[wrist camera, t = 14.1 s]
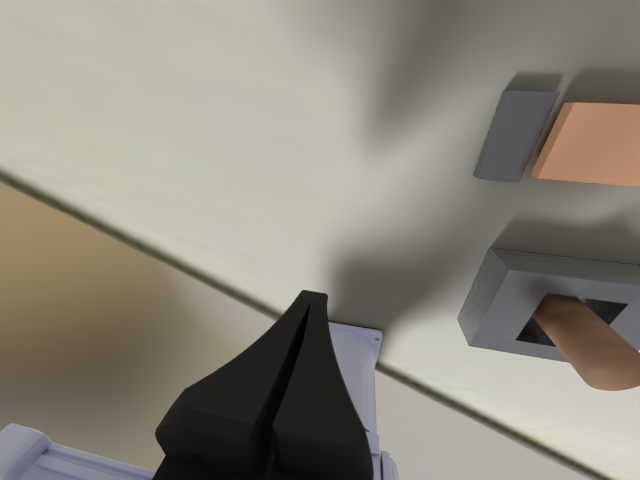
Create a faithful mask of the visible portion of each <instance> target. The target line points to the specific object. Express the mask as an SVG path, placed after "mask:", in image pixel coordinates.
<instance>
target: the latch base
mask: <svg viewBox="0 0 640 480" xmlns="http://www.w3.org/2000/svg"><path fill="white" fill-rule="evenodd" d="M558 94H559V92H544V91H515V90H511V91H504V92H503V93H502V96H501V99H500V101H499V104H498V107H497V110H496V113H495V115H494V118H493V121H492V124H491V127H490V130H489V132H488V135H487V138H486V141H485V144H484V146H483V149H482V152H481V155H480V158H479V160H478V163H477V166H476V169H475V172H474V174H473V176H475V177H476V178H478V179H484V180H496V181H509V182H519V180H520V178H521V175H522V173H523V171H524V169H525V167H526V164H527V162H528V160H529V158H530V156H531V153H532V151H533V149H534V147H535V145H536V142H537V140H538V138H539V136H540V134H541V131H542V129H543V127H544V125H545V123H546V120H547V118H548V116H549V114H550V112H551V109H552V107H553V105H554V103H555V101H556V98H557V96H558Z"/></svg>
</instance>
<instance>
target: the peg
mask: <svg viewBox="0 0 640 480" xmlns="http://www.w3.org/2000/svg"><path fill="white" fill-rule="evenodd" d="M532 317H533V318H534V319H535V321H536V322H537V323H538V324H539V325H540V327H541V328H542V329H543V330H544V332H545V333H546V334H547V335H548V337H549V338H550V339H551V340H552V342H553V343H554V344H555V345H556V346H557V348H558V349H559V350H560V351H561V353H562V354H563V355H564V356H565V358H566V359H567V360H568V361H569V363H570V364H571V365H572V366H573V367H574V369H575V370H576V371H577V372H578V374H579V375H580V376H581V377H582V379H583V380H584V381H585V382H586V383H587V384H588V385H589V386H591V387H593V388H596V389H600V390H608V391H617V390H625V389H630V388H634V387H637V386H640V353H639V352H638V351H637V350H636V349H635V348H634V347H633V346H631V345H630V344H629V343H628V342H627V341H626V340H625V339H624V338H622V337H621V336H620V335H619V334H618V333H617V332H616V331H614V330H613V329H612V328H611V327H610V326H609V325H608V324H607V323H605V322H604V321H603V320H602V319H601V318H600V317H599V316H597V315H596V314H595V313H594V312H593V311H592V310H591V309H590V308H588V307H587V306H586V305H585V304H584V303H583V302H582V301H580V300H579V299H578V298H577V297H573V296H566V295H558V294H551V293H546V295H545V296H544V298H543V299H542V301H541V302H540V304H539V305H538V307H537V308H536V310H535V311H534V313H533V314H532Z"/></svg>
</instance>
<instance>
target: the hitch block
mask: <svg viewBox="0 0 640 480" xmlns="http://www.w3.org/2000/svg"><path fill="white" fill-rule="evenodd" d="M546 293H551V294H558V295H566V296H573V297H577V298H578V299H579V300H580V301H582V302H583V303H584V304H585V305H586V306H587V307H588V308H590V309H591V310H592V311H593V312H594V313H595V314H596V315H597V316H599V317H600V318H601V319H602V320H603V321H604V322H605V323H607V324H608V325H609V326H610V327H611V328H612V329H613V330H614V331H616V332H617V333H618V334H619V335H620V336H621V337H622V338H624V339H625V340H626V341H627V342H628V343H629V344H630V345H631V346H633V347H634V348H635V349H636V350H637V351H638V350H639V349H640V265H633V264H624V263H615V262H607V261H598V260H589V259H580V258H572V257H563V256H554V255H546V254H537V253H528V252H520V251H511V250H502V249H494V248H490V249H489V251H488V253H487V255H486V257H485V260H484V262H483V264H482V266H481V268H480V271H479V273H478V275H477V277H476V279H475V281H474V284H473V286H472V288H471V290H470V292H469V295H468V297H467V299H466V301H465V303H464V305H463V308H462V310H461V312H460V314H459V316H458V319H457V320H458V322H459V324H460V327H461V329H462V331H463V333H464V336H465V338H466V340H467V343H468V345H469V346H472V347H478V348H484V349H490V350H496V351H502V352H508V353H514V354H520V355H526V356H532V357H538V358H544V359H550V360H556V361H562V362H568V363H569V361H568V360H567V359H566V358H565V356H564V355H563V354H562V353H561V351H560V350H559V349H558V348H557V346H556V345H555V344H554V343H553V342H552V340H551V339H550V338H549V337H548V335H547V334H546V333H545V332H544V330H543V329H542V328H541V327H540V325H539V324H538V323H537V322H536V321H535V319H534V318H530V317H531V316H532V314H533V313H534V311H535V310H536V308H537V307H538V305H539V304H540V302H541V301H542V299H543V298H544V296H545V295H546Z"/></svg>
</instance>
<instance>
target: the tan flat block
mask: <svg viewBox="0 0 640 480" xmlns="http://www.w3.org/2000/svg"><path fill="white" fill-rule="evenodd" d="M530 176H532V177H535V178H537V179H549V180H562V181H574V182H586V183H598V184H610V185H622V186H634V187H640V105H633V104H607V103H581V102H571V103H564V104H563V106H562V109H561V111H560V113H559V115H558V117H557V119H556V121H555V123H554V125H553V128H552V130H551V132H550V134H549V136H548V138H547V140H546V142H545V144H544V147H543V149H542V151H541V153H540V155H539V157H538V159H537V161H536V164H535V166H534V168H533V170H532V172H531V174H530Z"/></svg>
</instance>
